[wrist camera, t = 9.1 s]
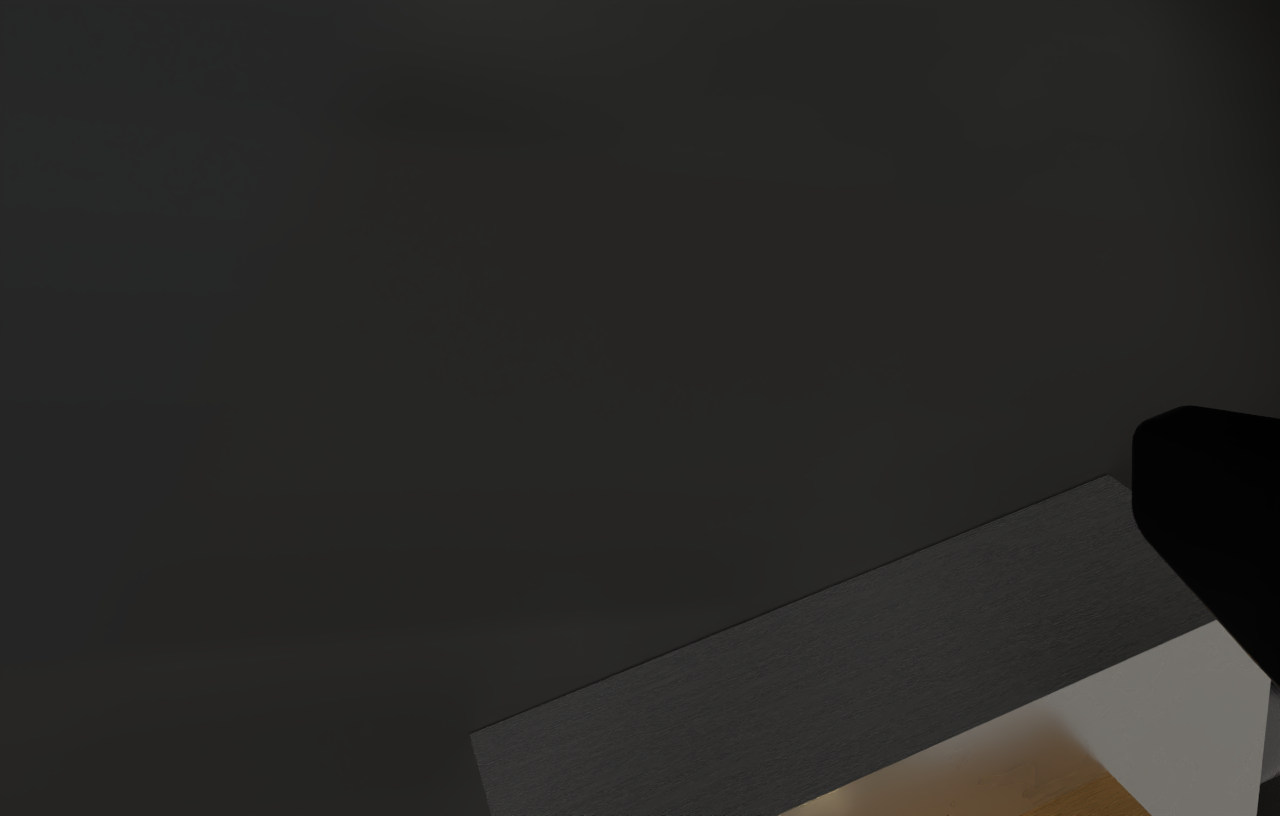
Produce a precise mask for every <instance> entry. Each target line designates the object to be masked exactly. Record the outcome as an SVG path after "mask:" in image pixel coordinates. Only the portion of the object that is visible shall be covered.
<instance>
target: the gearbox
mask: <svg viewBox="0 0 1280 816" xmlns="http://www.w3.org/2000/svg"><path fill="white" fill-rule="evenodd" d="M470 738H471V741H472V745H473V749H474V753H475V756H476V760H477V764H478V767H479V771H480V775H481V778H482V782H483V786H484V790H485V793H486V797H487V801H488V804H489V808H490V812H491V815H492V816H1257V807H1258V797H1259V788H1260V784H1262V783H1264V782H1266V781H1268V780H1270V779H1272V778H1274V777H1276V776H1278V775H1280V688H1279V687H1278V686H1277V685H1275V683H1274V682H1273V681H1272V680H1271V679H1270V678H1269V677H1268V676H1267V675H1266V674H1265V673H1264V672H1263V671H1262V670H1261V669H1260V668H1259V666H1258V665H1257V664H1256V663H1255V662H1254V661H1253V660H1252V659H1251V658H1250V657H1249V656H1248V655H1247V653H1246V652H1245V651H1244V650H1243V649H1242V648H1241V647H1240V645H1239V644H1238V643H1237V642H1236V641H1235V640H1234V639H1233V638H1232V636H1231V635H1230V634H1229V633H1228V632H1227V631H1226V630H1225V629H1224V627H1223V626H1222V625H1221V624H1220V623H1219V622H1218V621H1217V620H1216V618H1215V617H1214V616H1213V615H1212V614H1211V613H1210V612H1209V611H1208V609H1207V608H1206V607H1205V606H1204V605H1203V604H1202V603H1201V602H1200V600H1199V599H1198V598H1197V597H1196V596H1195V595H1194V594H1193V593H1192V591H1191V590H1190V589H1189V588H1188V587H1187V586H1186V585H1185V584H1184V582H1183V581H1182V580H1181V579H1180V578H1179V577H1178V576H1177V574H1176V573H1175V572H1174V571H1173V570H1172V569H1171V568H1170V567H1169V565H1168V564H1167V563H1166V562H1165V561H1164V560H1163V559H1162V558H1161V556H1160V555H1159V554H1158V553H1157V552H1156V551H1155V550H1154V549H1153V547H1152V546H1151V545H1150V544H1149V543H1148V542H1147V541H1146V539H1145V538H1144V537H1143V535H1142V534H1141V532H1140V530H1139V529H1138V527H1137V524H1136V522H1135V520H1134V516H1133V512H1132V491H1131V490H1130V489H1129V488H1127V487H1126V486H1124V485H1123V484H1121V483H1120V482H1118V481H1117V480H1115V479H1114V478H1112V477H1111V476H1109V475H1106V476H1103V477H1101V478H1098V479H1096V480H1093V481H1091V482H1088V483H1086V484H1084V485H1081V486H1079V487H1076V488H1074V489H1071V490H1069V491H1066V492H1064V493H1061V494H1059V495H1056V496H1054V497H1052V498H1049V499H1047V500H1044V501H1042V502H1039V503H1037V504H1034V505H1032V506H1029V507H1027V508H1025V509H1022V510H1020V511H1017V512H1015V513H1012V514H1010V515H1007V516H1005V517H1002V518H1000V519H998V520H995V521H993V522H990V523H988V524H985V525H983V526H980V527H978V528H975V529H973V530H970V531H968V532H966V533H963V534H961V535H958V536H956V537H953V538H951V539H948V540H946V541H943V542H941V543H939V544H936V545H934V546H931V547H929V548H926V549H924V550H921V551H919V552H916V553H914V554H912V555H909V556H907V557H904V558H902V559H899V560H897V561H894V562H892V563H889V564H887V565H884V566H882V567H880V568H877V569H875V570H872V571H870V572H867V573H865V574H862V575H860V576H857V577H855V578H853V579H850V580H848V581H845V582H843V583H840V584H838V585H835V586H833V587H830V588H828V589H826V590H823V591H821V592H818V593H816V594H813V595H811V596H808V597H806V598H803V599H801V600H798V601H796V602H794V603H791V604H789V605H786V606H784V607H781V608H779V609H776V610H774V611H771V612H769V613H767V614H764V615H762V616H759V617H757V618H754V619H752V620H749V621H747V622H744V623H742V624H740V625H737V626H735V627H732V628H730V629H727V630H725V631H722V632H720V633H717V634H715V635H712V636H710V637H708V638H705V639H703V640H700V641H698V642H695V643H693V644H690V645H688V646H685V647H683V648H681V649H678V650H676V651H673V652H671V653H668V654H666V655H663V656H661V657H658V658H656V659H654V660H651V661H649V662H646V663H644V664H641V665H639V666H636V667H634V668H631V669H629V670H627V671H624V672H622V673H619V674H617V675H614V676H612V677H609V678H607V679H604V680H602V681H599V682H597V683H595V684H592V685H590V686H587V687H585V688H582V689H580V690H577V691H575V692H572V693H570V694H568V695H565V696H563V697H560V698H558V699H555V700H553V701H550V702H548V703H545V704H543V705H541V706H538V707H536V708H533V709H531V710H528V711H526V712H523V713H521V714H518V715H516V716H513V717H511V718H509V719H506V720H504V721H501V722H499V723H496V724H494V725H491V726H489V727H486V728H484V729H482V730H479V731H477V732H474V733H472V734H470Z"/></svg>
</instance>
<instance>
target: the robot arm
mask: <svg viewBox="0 0 1280 816" xmlns="http://www.w3.org/2000/svg"><path fill="white" fill-rule="evenodd" d="M1132 512H1133V516H1134V520H1135V522H1136V524H1137V527H1138V529H1139V530H1140V532H1141V534H1142V535H1143V537H1144V538H1145V539H1146V541H1147V542H1148V543H1149V544H1150V545H1151V546H1152V547H1153V549H1154V550H1155V551H1156V552H1157V553H1158V554H1159V555H1160V556H1161V558H1162V559H1163V560H1164V561H1165V562H1166V563H1167V564H1168V565H1169V567H1170V568H1171V569H1172V570H1173V571H1174V572H1175V573H1176V574H1177V576H1178V577H1179V578H1180V579H1181V580H1182V581H1183V582H1184V584H1185V585H1186V586H1187V587H1188V588H1189V589H1190V590H1191V591H1192V593H1193V594H1194V595H1195V596H1196V597H1197V598H1198V599H1199V600H1200V602H1201V603H1202V604H1203V605H1204V606H1205V607H1206V608H1207V609H1208V611H1209V612H1210V613H1211V614H1212V615H1213V616H1214V617H1215V618H1216V620H1217V621H1218V622H1219V623H1220V624H1221V625H1222V626H1223V627H1224V629H1225V630H1226V631H1227V632H1228V633H1229V634H1230V635H1231V636H1232V638H1233V639H1234V640H1235V641H1236V642H1237V643H1238V644H1239V645H1240V647H1241V648H1242V649H1243V650H1244V651H1245V652H1246V653H1247V655H1248V656H1249V657H1250V658H1251V659H1252V660H1253V661H1254V662H1255V663H1256V664H1257V665H1258V666H1259V668H1260V669H1261V670H1262V671H1263V672H1264V673H1265V674H1266V675H1267V676H1268V677H1269V678H1270V679H1271V680H1272V681H1273V682H1274V683H1275V685H1277V686H1278V687H1279V688H1280V419H1277V418H1271V417H1264V416H1258V415H1251V414H1244V413H1238V412H1231V411H1225V410H1218V409H1212V408H1205V407H1199V406H1181V407H1178V408H1175V409H1172V410H1170V411H1167V412H1165V413H1162V414H1160V415H1157V416H1155V417H1152V418H1150V419H1147V420H1145V421H1144V422H1142V423H1141V424H1140V425H1139V426H1138V427H1137V429H1136V431H1135V433H1134V435H1133V441H1132Z"/></svg>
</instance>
